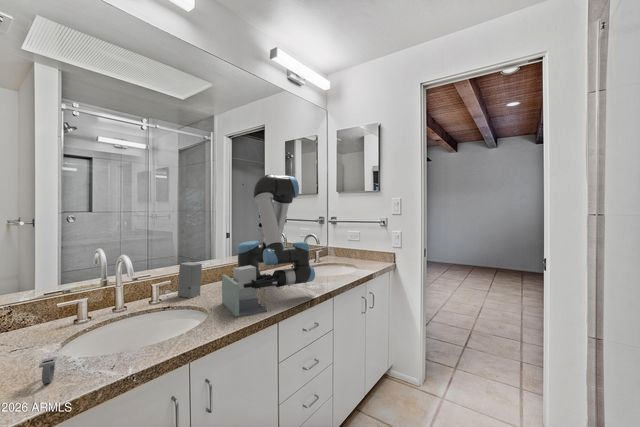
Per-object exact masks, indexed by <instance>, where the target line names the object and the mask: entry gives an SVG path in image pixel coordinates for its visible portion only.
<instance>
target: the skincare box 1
mask: <svg viewBox="0 0 640 427" xmlns="http://www.w3.org/2000/svg"><path fill="white" fill-rule="evenodd" d="M178 268H179V270H178V285H177V297H178V296H182V297H181V298H185V297H187V299H192V298H191V297H193V298H195V297H194V296H196V297H198V296H197V295H199V296H200V295H201V286H202V283H201V282H202V268H203V264H202V263H201V262H200V263H199V262H192V261H187V262H182V263H179V266H178Z"/></svg>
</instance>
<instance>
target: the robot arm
mask: <svg viewBox="0 0 640 427" xmlns="http://www.w3.org/2000/svg"><path fill="white" fill-rule="evenodd" d="M299 193H300V184H299V182H298V180H297V178H296V177H295V176H291V175H278V174H265V175H263V176H261V177H260V178H258V180H257V181H256V183H255V184H254V188H253V199H254V201H255V202H256V203H257V204H256V205H257V208H258V213H259V218H260V222H261V227H262V232H263V237H264V238H263V240H262V242H259V241H258V240H251V241H245V242H240V243H239V244H238V246H237V267H243V266H248V265H251V266H254V267H256V281H254V280H252V283H251V281H247V282H239V283H238V284H239V290H240V289H247V288H251V287H252V288H255V289H256V290H257V289H258V290H259V289H262V288H267V287H268V288H269V287H276V288H280V287H281V288H282V287H285V286H286V287H287V286H288V287H291V286H292V285H298V284H307V283H310V282H313V281H314V280H315V278H316V271H315V268H314V266H312V265H310V247H309V243H308V242H307V241H298V242H293V244H292V246H285V244H284V242H283V240H282V237H283V234H284V229H285V223H286V219H287V214H288V210H289V205H290V204H292V203H293V200H294V199H296V198H298V196H299ZM260 264H265V265H266V266H278V265H285V264H293V267H292V268H283V269H276V270H274V271H273V273H272V274H266V273H263V274H262V273H261V271H260V267H259V266H260Z"/></svg>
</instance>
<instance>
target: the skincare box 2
mask: <svg viewBox="0 0 640 427" xmlns="http://www.w3.org/2000/svg"><path fill="white" fill-rule="evenodd" d="M232 279H233V280H234V281H236V282H237V283H239V282H247V281H251V283H252V280H254V281H256V267H254V266H251V265H248V266H243V267H238V266H237V267H232ZM257 294H258V293H257V289H255V288H252V287H251V288H247V289H240V290H239V301H244V300H250V299H255V298H258V296H257Z"/></svg>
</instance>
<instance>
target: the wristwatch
mask: <svg viewBox="0 0 640 427" xmlns="http://www.w3.org/2000/svg"><path fill="white" fill-rule="evenodd" d="M57 360H58V356H52V357H48V358H44V359H42V360H41V361H40V363H39V365H38V369H41V370H42V371H41V383H42V384H43V385H46V384H50V383H52V382H53V381H54V380H53V379H54V376H55V368H56V365H55V364H56V362H57Z"/></svg>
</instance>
